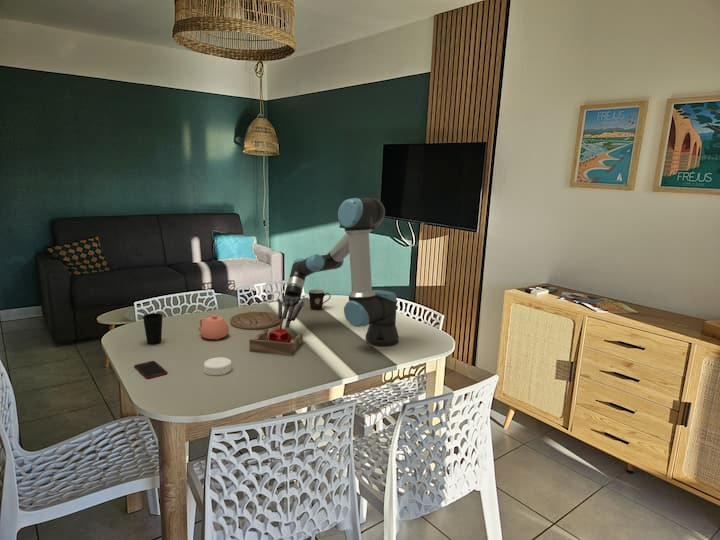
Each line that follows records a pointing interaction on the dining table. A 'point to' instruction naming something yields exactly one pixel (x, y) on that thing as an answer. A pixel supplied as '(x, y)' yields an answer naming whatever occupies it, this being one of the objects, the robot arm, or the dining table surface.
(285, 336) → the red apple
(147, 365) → the cell phone
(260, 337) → the walnut pocket
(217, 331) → the sugar bowl
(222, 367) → the white round disc
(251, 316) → the trivet
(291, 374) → the dining table surface
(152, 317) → the cup
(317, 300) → the coffee mug
